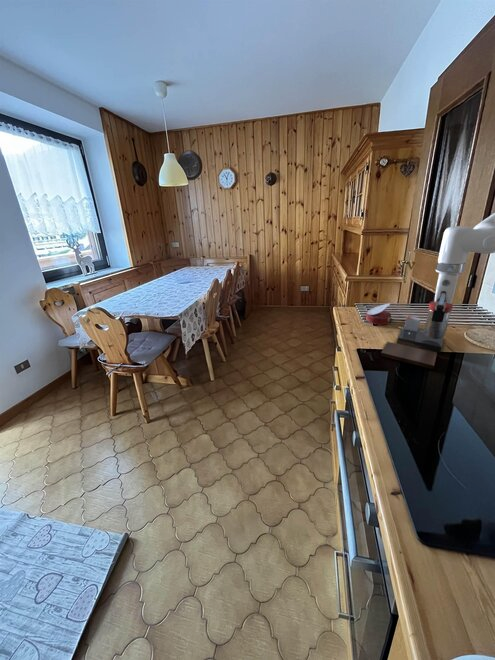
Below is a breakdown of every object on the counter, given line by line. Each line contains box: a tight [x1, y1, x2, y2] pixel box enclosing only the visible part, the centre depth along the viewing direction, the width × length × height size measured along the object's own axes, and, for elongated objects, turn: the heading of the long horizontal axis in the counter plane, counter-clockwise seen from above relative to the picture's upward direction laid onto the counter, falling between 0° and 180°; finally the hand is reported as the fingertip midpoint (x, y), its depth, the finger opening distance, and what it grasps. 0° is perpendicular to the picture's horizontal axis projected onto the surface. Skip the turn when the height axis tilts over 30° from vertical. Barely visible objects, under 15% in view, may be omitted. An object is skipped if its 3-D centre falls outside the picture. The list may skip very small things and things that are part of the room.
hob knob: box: [404, 315, 421, 332], centre depth 110 cm, size 5×2×5 cm, turn 55°
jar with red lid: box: [423, 300, 454, 339], centre depth 100 cm, size 7×7×12 cm
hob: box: [396, 324, 445, 354], centre depth 108 cm, size 15×13×3 cm
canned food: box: [365, 302, 392, 325], centre depth 124 cm, size 11×10×10 cm
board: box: [380, 341, 438, 370], centre depth 99 cm, size 16×9×2 cm, turn 54°
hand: (438, 316), depth 99 cm, fingers closed on jar with red lid, 6 cm apart
